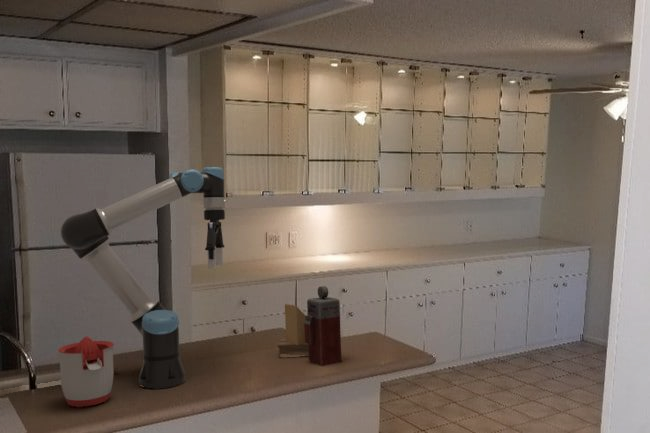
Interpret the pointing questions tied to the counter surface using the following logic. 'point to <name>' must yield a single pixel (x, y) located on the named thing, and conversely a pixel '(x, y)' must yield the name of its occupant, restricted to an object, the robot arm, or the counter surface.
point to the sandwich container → (294, 324)
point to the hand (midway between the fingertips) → (215, 266)
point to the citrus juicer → (86, 372)
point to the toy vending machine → (323, 329)
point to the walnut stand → (292, 348)
